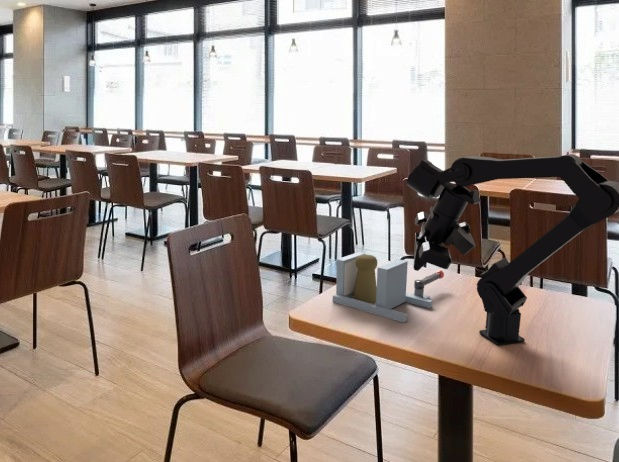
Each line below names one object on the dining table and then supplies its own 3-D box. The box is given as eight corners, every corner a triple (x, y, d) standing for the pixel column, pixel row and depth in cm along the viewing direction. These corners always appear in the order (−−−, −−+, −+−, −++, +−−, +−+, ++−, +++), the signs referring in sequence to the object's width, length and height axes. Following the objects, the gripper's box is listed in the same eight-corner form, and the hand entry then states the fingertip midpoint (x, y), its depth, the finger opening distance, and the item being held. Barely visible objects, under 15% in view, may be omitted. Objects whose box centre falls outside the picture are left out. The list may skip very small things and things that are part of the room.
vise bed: (441, 301, 129) (443, 261, 127) (403, 322, 116) (405, 278, 114) (371, 283, 142) (373, 247, 140) (331, 300, 129) (331, 260, 126)
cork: (377, 295, 133) (379, 252, 130) (378, 304, 127) (379, 259, 124) (353, 294, 133) (354, 251, 131) (352, 303, 127) (353, 258, 125)
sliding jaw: (405, 301, 128) (407, 261, 126) (385, 311, 121) (387, 269, 119) (395, 298, 130) (397, 259, 127) (375, 309, 123) (376, 267, 121)
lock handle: (421, 290, 129) (421, 282, 128) (412, 288, 130) (412, 280, 130) (445, 278, 138) (446, 270, 138) (437, 276, 140) (437, 268, 139)
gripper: (490, 246, 104) (454, 306, 112) (475, 205, 121) (444, 260, 128) (438, 226, 104) (404, 288, 111) (429, 188, 120) (401, 244, 128)
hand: (415, 269), depth 120 cm, fingers closed
